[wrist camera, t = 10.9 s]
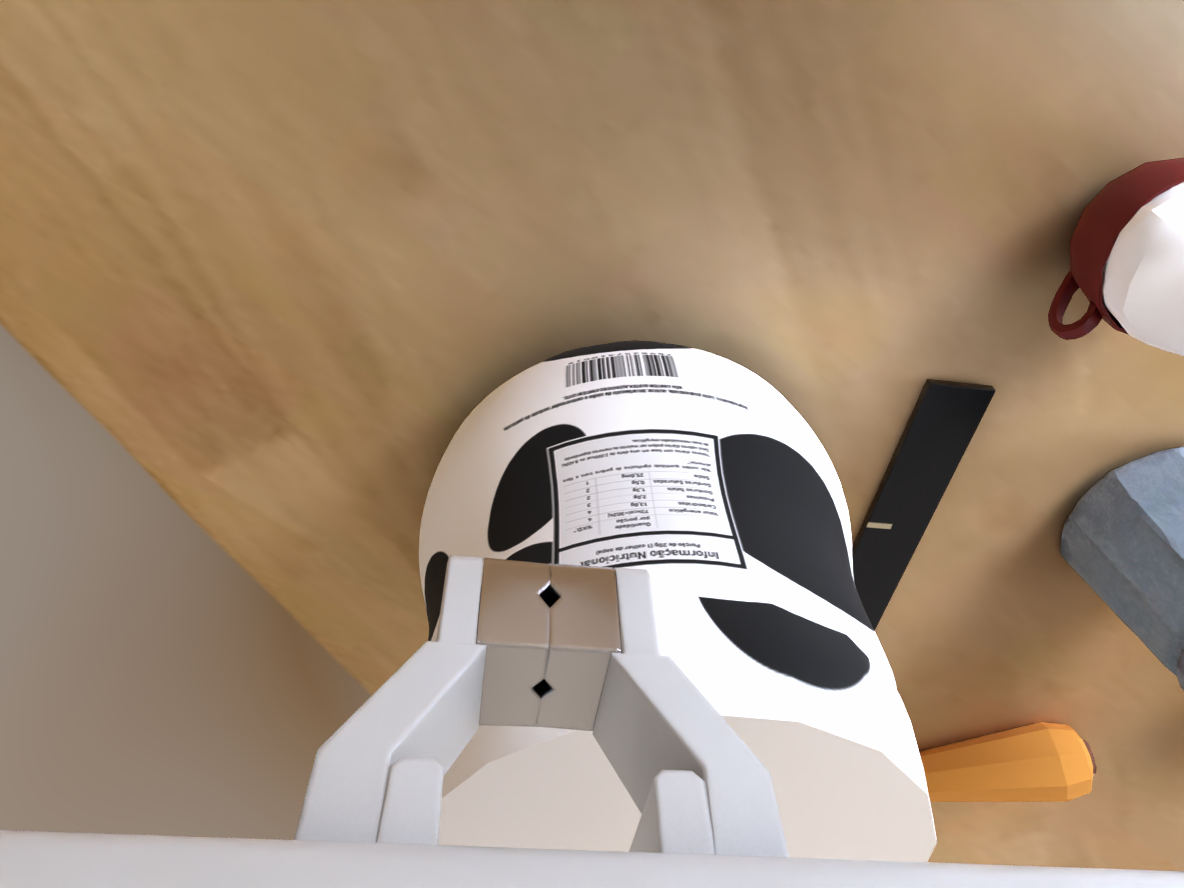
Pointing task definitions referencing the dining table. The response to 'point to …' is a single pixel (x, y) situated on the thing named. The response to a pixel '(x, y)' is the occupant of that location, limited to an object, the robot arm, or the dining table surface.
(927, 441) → the ruler
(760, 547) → the milk container
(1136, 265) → the cocoa
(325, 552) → the dining table surface
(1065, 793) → the carrot
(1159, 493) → the moka pot
